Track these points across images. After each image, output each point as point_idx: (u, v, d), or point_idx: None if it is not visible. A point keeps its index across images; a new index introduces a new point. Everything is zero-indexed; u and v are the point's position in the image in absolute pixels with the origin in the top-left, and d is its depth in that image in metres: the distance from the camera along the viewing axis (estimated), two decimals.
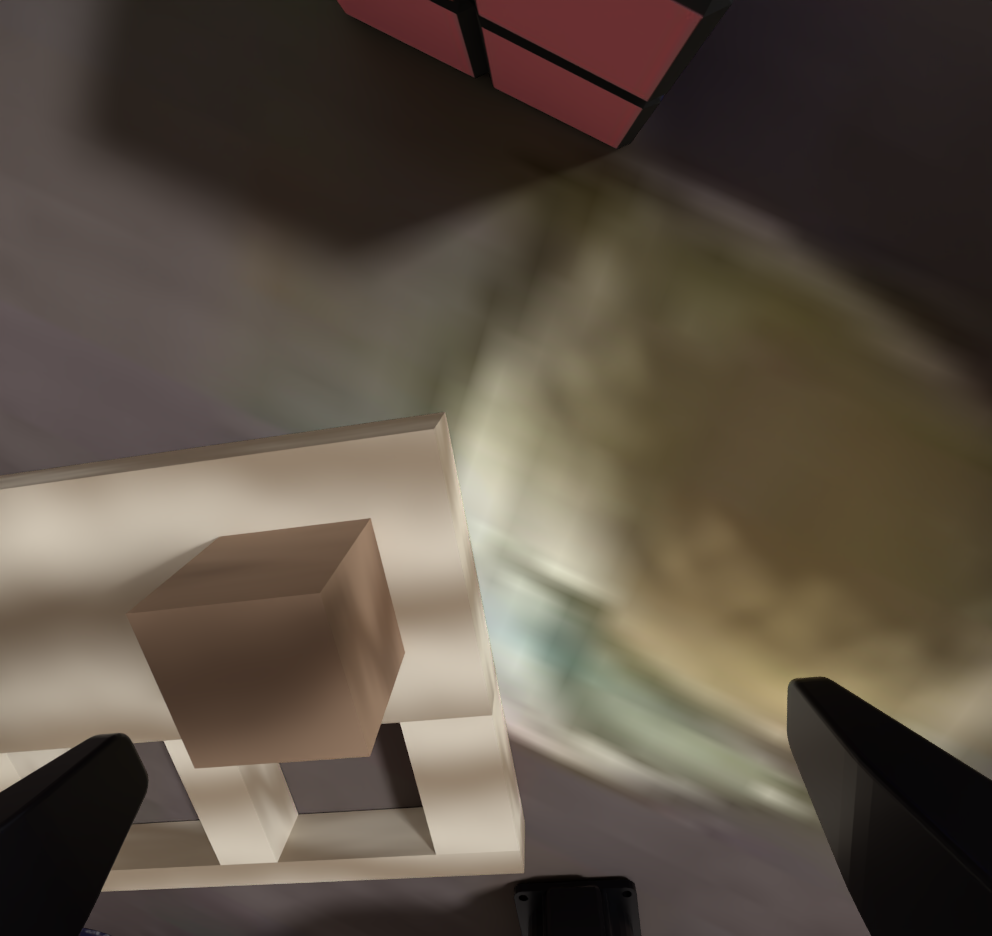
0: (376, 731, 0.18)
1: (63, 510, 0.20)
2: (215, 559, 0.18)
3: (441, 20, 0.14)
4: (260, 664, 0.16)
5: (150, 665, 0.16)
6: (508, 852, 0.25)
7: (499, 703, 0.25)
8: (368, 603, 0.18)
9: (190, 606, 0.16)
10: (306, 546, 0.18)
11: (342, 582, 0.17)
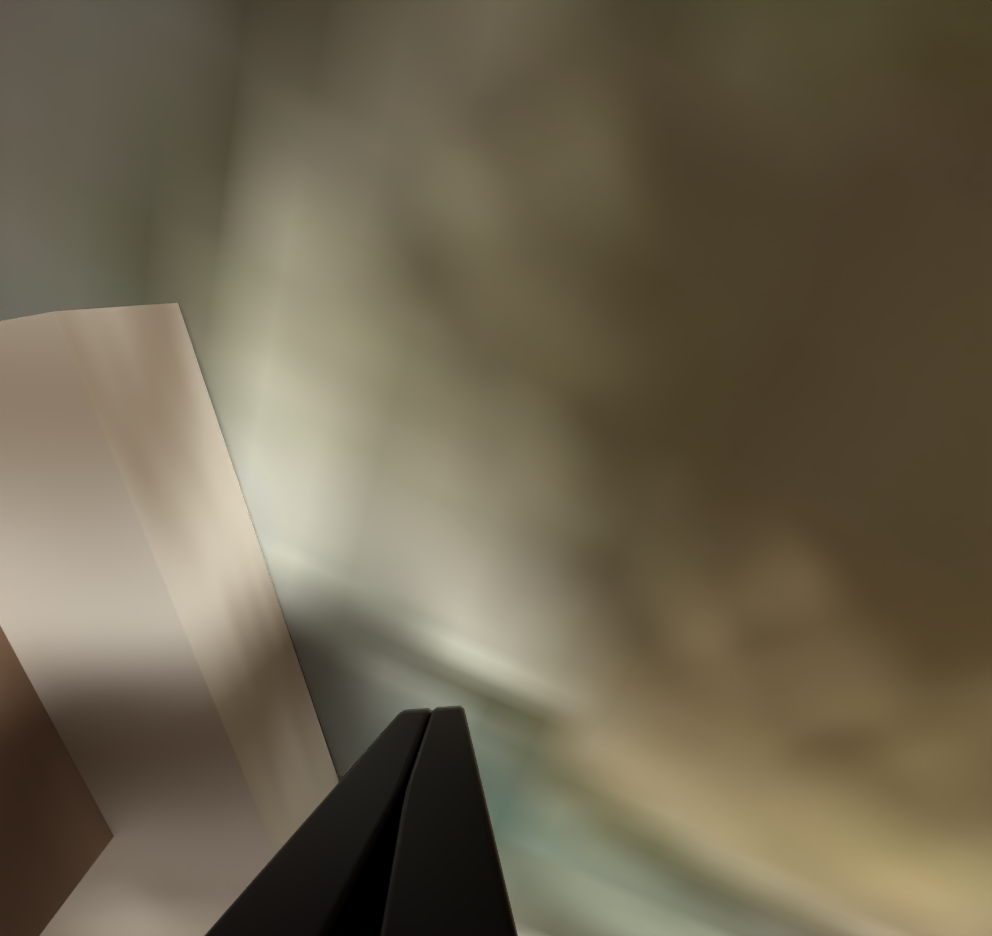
0: None
1: None
2: None
3: None
4: None
5: None
6: None
7: None
8: None
9: None
10: None
11: None
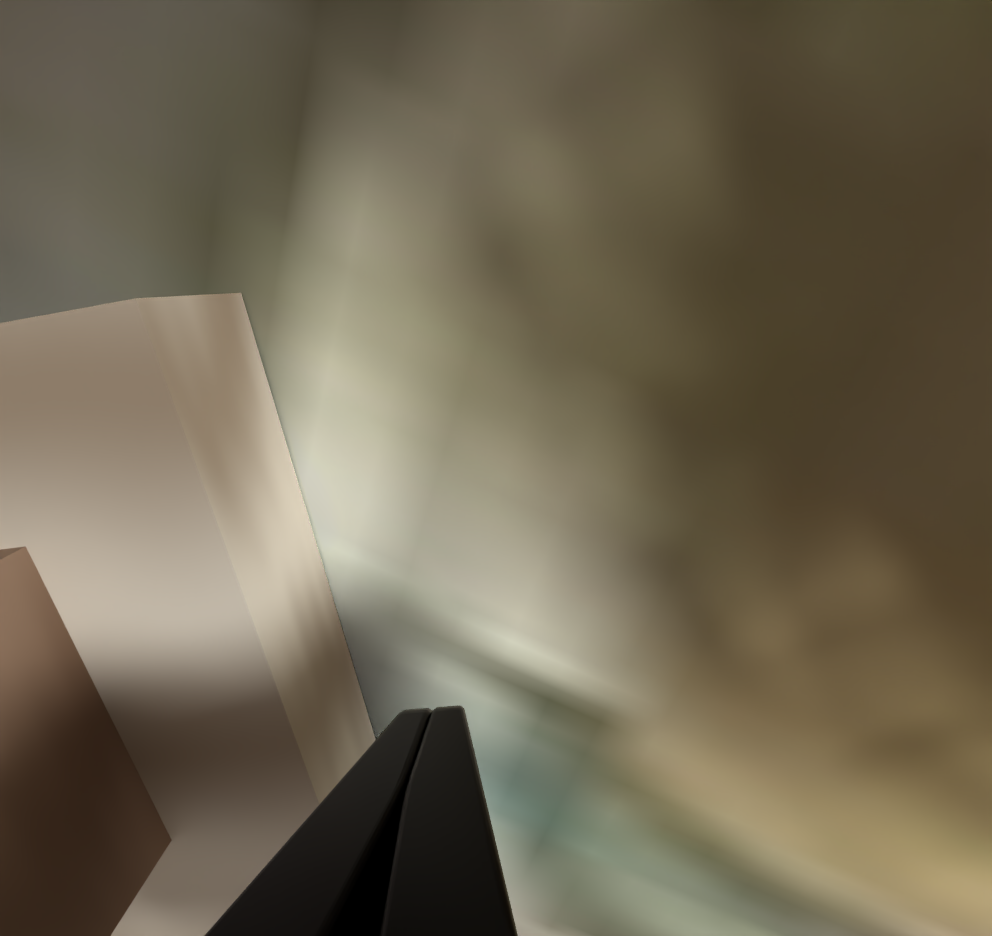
0: None
1: None
2: None
3: None
4: None
5: None
6: None
7: None
8: None
9: None
10: None
11: None
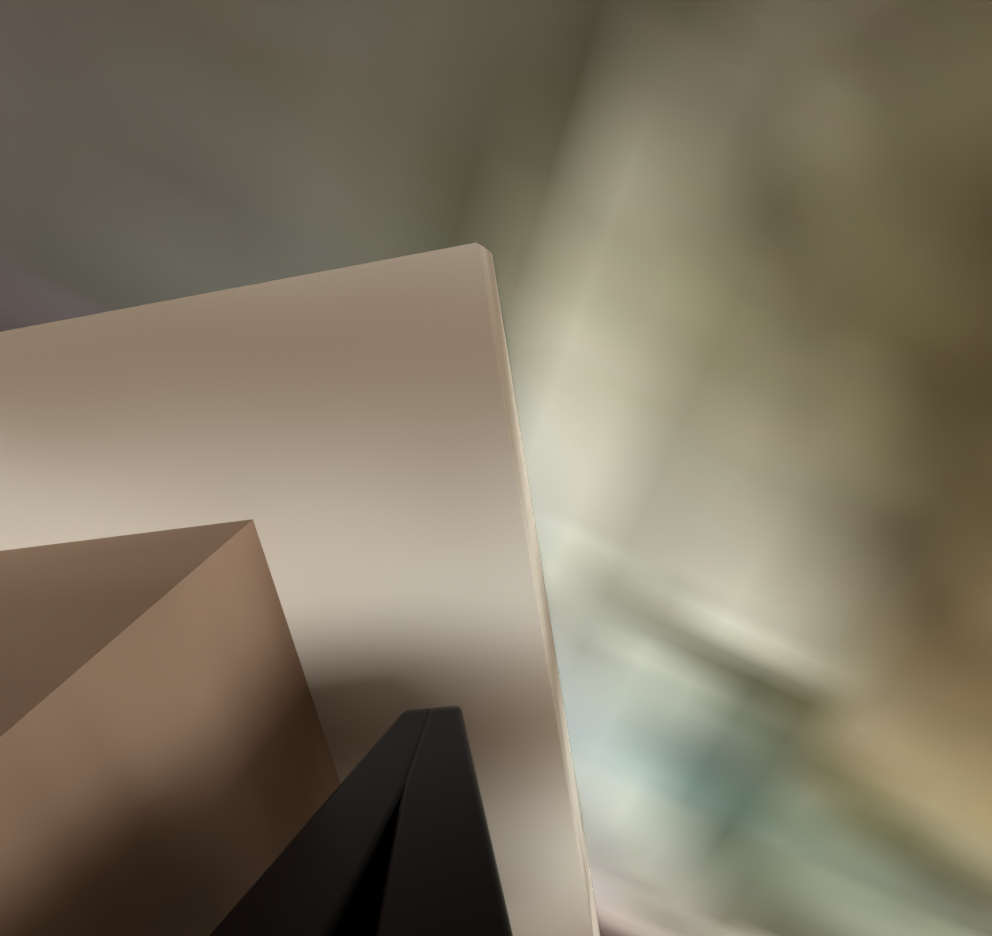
0: None
1: None
2: None
3: None
4: None
5: None
6: None
7: (590, 885, 0.12)
8: (219, 774, 0.06)
9: None
10: (25, 606, 0.06)
11: (62, 765, 0.04)
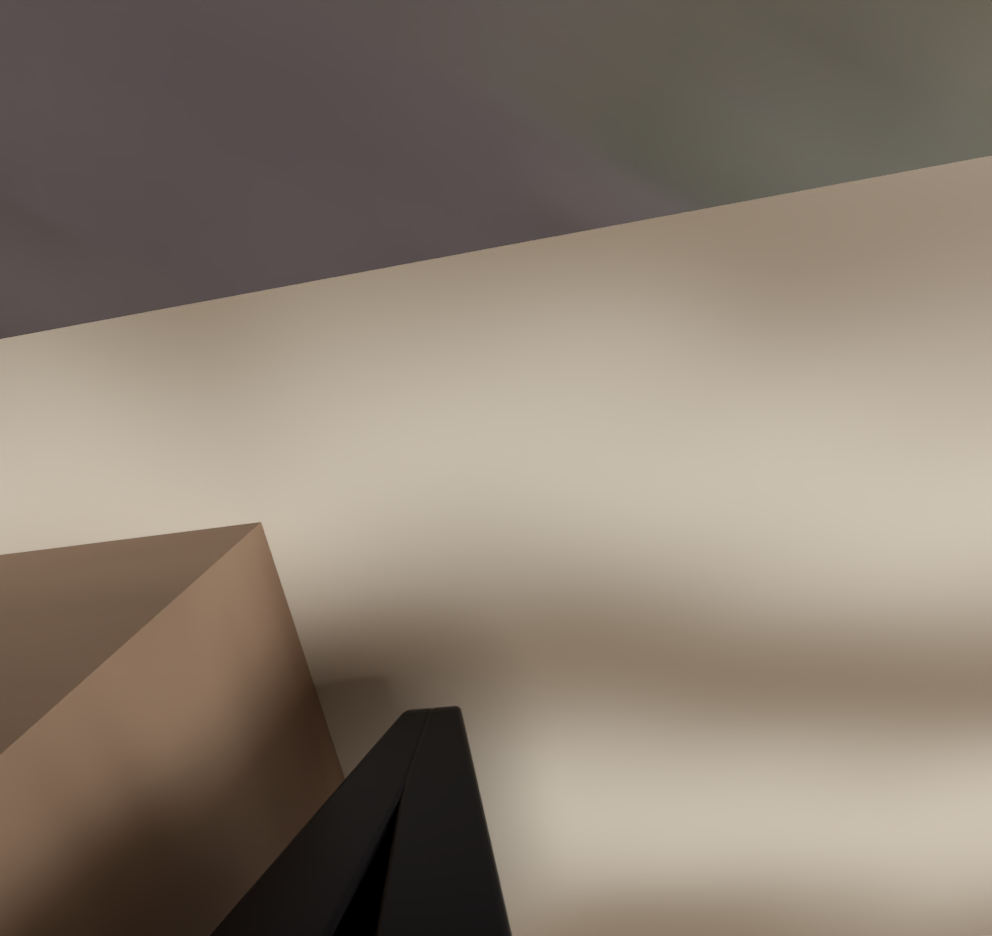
0: None
1: (132, 408, 0.07)
2: None
3: None
4: None
5: None
6: None
7: None
8: (231, 773, 0.06)
9: None
10: (39, 608, 0.06)
11: (82, 762, 0.04)
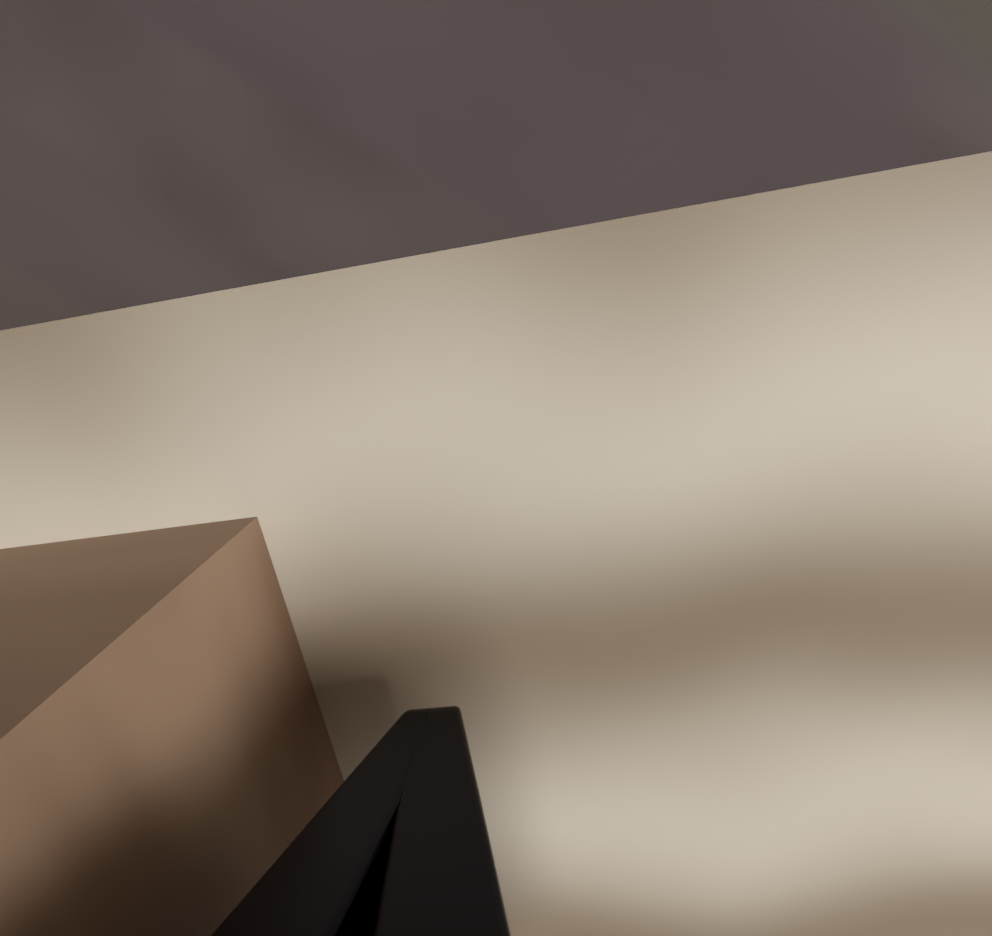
0: None
1: (542, 336, 0.06)
2: None
3: None
4: None
5: None
6: None
7: None
8: (225, 770, 0.06)
9: None
10: (31, 603, 0.06)
11: (72, 759, 0.04)
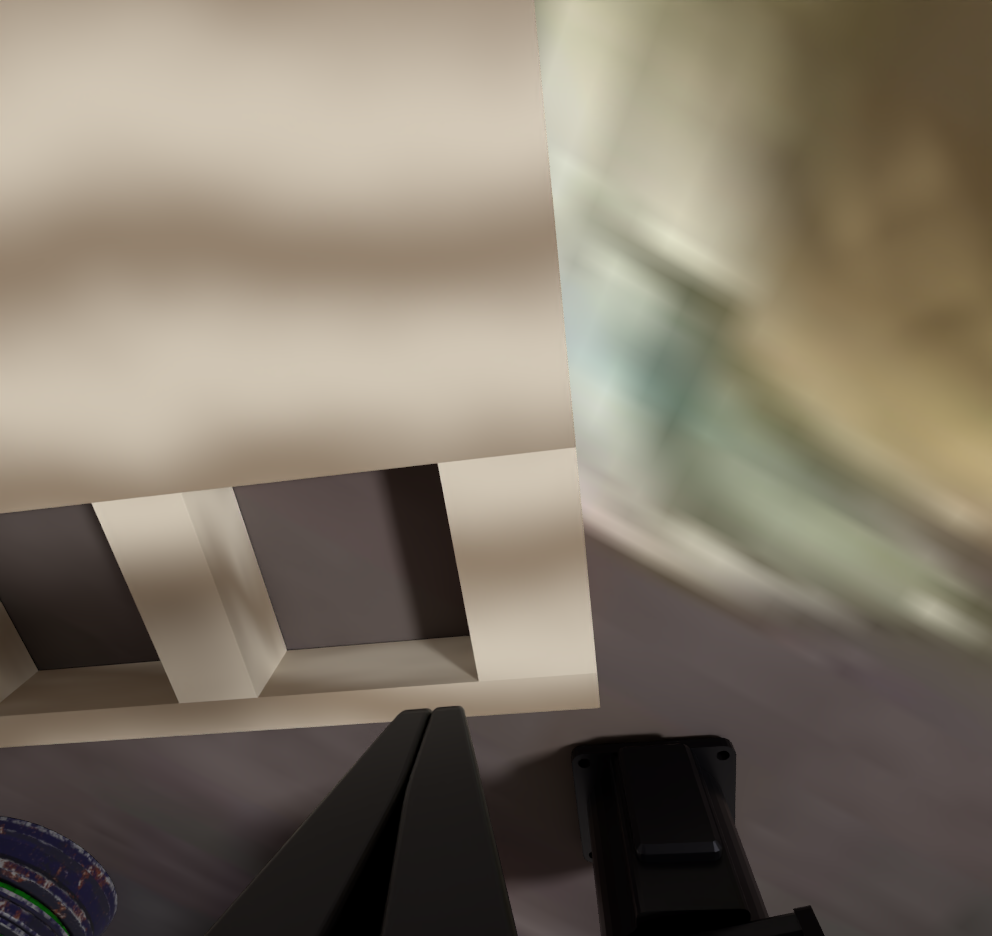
0: None
1: None
2: None
3: None
4: None
5: None
6: (580, 676, 0.18)
7: None
8: None
9: None
10: None
11: None
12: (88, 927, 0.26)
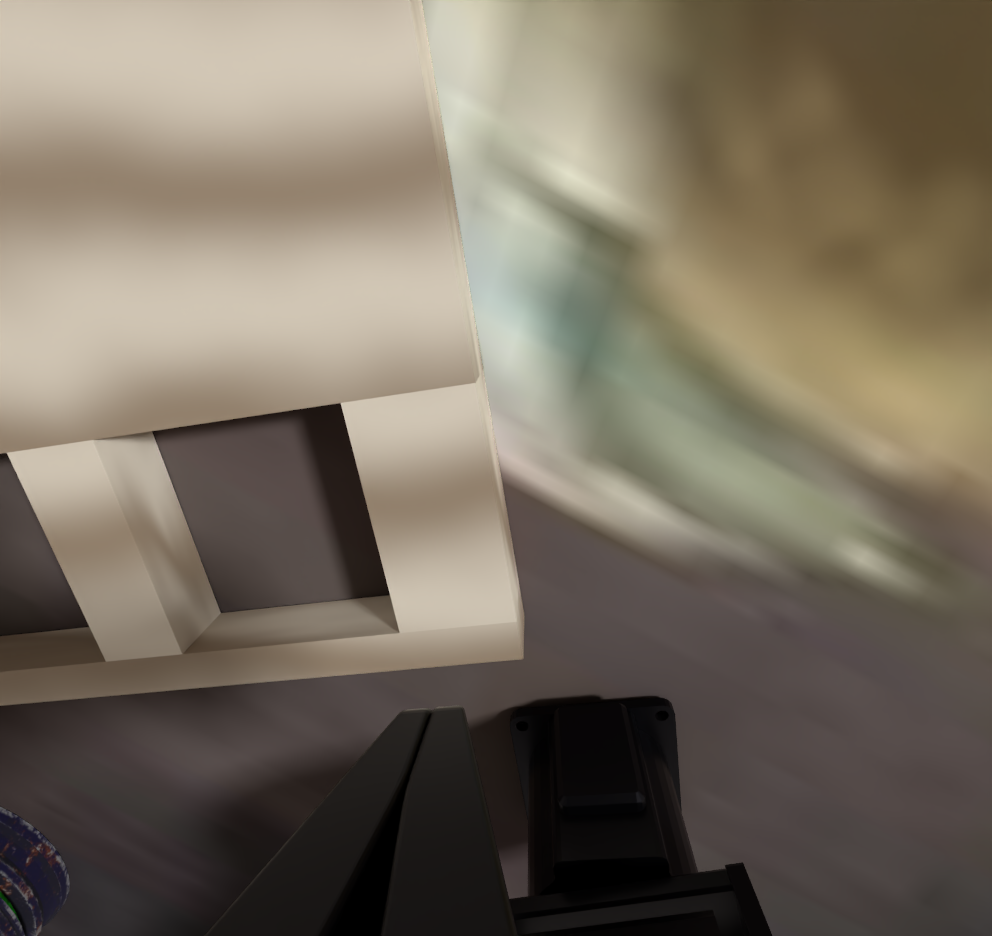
0: None
1: None
2: None
3: None
4: None
5: None
6: (501, 625, 0.18)
7: (488, 408, 0.17)
8: None
9: None
10: None
11: None
12: (36, 906, 0.26)
